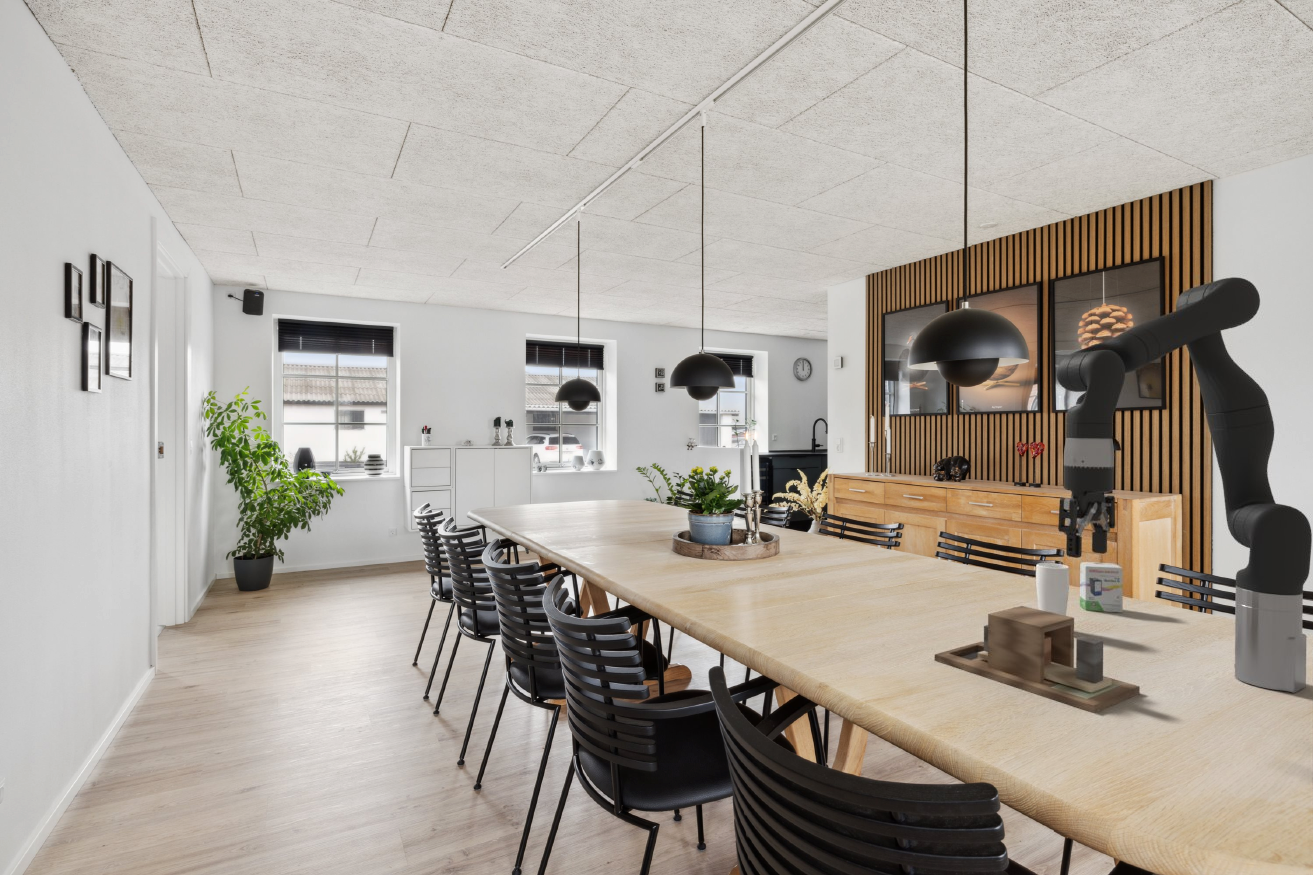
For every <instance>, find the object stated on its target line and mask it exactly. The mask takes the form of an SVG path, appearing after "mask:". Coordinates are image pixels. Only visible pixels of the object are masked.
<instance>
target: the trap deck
mask: <svg viewBox="0 0 1313 875" xmlns="http://www.w3.org/2000/svg"><path fill="white" fill-rule="evenodd" d="M987 625H988V661H987V660H984V659H980V658H978V652H982V651H984V641H978V642H975V643H971V644H967V645H964V646H961V647H956V648H954V649H948V650H945V651H942V652H938V653H935V654H934V662H938V663H942V664H945V665H948V666H951V667H953V668H957V669H960V670H962V671H963V670H964V671H965V672H969V673H972V674H974V675H978V676H981V677H984V678H988V679H990V680H993V681H996V682H999V683H1001V684H1005V685H1008V686H1011V687H1014V688H1017V689H1021V690H1023V691H1027V692H1029V693H1032V694H1035V695H1038V696H1041V697H1045V698H1048V699H1051V700H1053V701H1056V702H1060V703H1062V704H1064V705H1069V706H1072V707H1074V708H1077V709H1080V710H1083V711H1087V712H1090V713H1092V714H1095V713H1097V712H1099V711H1102V710H1104V709H1106V708H1108V707H1111V706H1113V705H1115V704H1118V703H1120V702H1123V701H1125V700H1127V699H1129V698H1131V697H1134V696H1136V695H1139V694H1140V690H1141V688H1140V686H1139V685H1136V684H1133V683H1129V682H1125V681H1122V680H1118V679H1115V678H1111V677H1108V676H1104V675H1103V677H1106V678H1110V679H1112V685H1110V686H1107V687H1105V688H1102V689H1100V690H1097V691H1095V692H1092V693H1091V692H1087V691H1084V690H1081V689H1078V688H1074V687H1071V686H1068V685H1065V684H1061V683H1058V682H1055V681H1052V680H1048V679H1045V678H1044V635H1045V636H1049V637H1051V662H1054V663H1057V664H1061V665H1064V666H1068V667H1071V668H1075V669H1076V667H1075V617H1073V616H1068V615H1066V616H1064V615H1060V614H1056V613H1051V612H1047V611H1042V610H1038V608H1033V607H1028V606H1023V605H1020V606H1019V605H1018V606H1016V607H1011V608H1007V609H1004V610H998V611H995V612H991V613H988V614H987Z"/></svg>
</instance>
